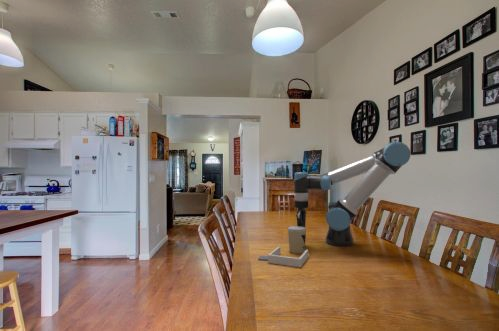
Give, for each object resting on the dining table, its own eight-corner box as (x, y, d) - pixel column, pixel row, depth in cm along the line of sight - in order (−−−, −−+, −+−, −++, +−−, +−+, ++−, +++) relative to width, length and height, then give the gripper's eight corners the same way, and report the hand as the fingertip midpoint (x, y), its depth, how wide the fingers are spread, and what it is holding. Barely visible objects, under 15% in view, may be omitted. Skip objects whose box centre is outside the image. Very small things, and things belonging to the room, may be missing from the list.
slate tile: (270, 258, 131) (270, 256, 131) (268, 262, 126) (268, 259, 126) (260, 258, 132) (260, 255, 132) (258, 261, 127) (258, 258, 127)
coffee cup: (306, 254, 135) (306, 229, 135) (287, 253, 137) (287, 229, 137) (306, 249, 144) (306, 226, 144) (288, 248, 146) (288, 225, 146)
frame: (308, 257, 131) (308, 249, 131) (300, 267, 117) (300, 259, 117) (278, 253, 137) (278, 246, 137) (267, 262, 123) (267, 255, 123)
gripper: (297, 198, 158) (298, 239, 157) (291, 201, 146) (291, 245, 145) (310, 199, 155) (311, 241, 154) (305, 201, 143) (305, 247, 142)
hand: (301, 243), depth 150 cm, fingers closed
